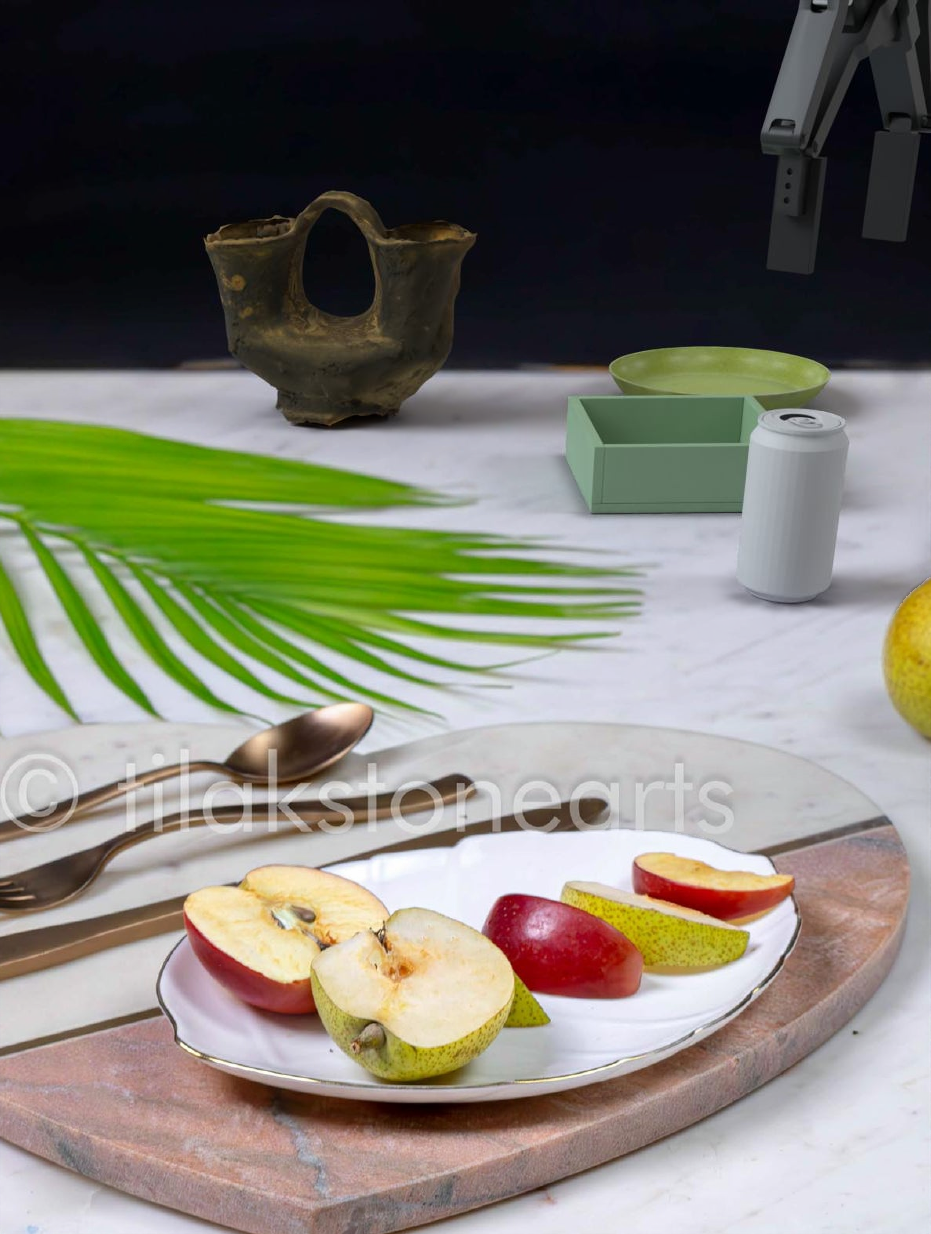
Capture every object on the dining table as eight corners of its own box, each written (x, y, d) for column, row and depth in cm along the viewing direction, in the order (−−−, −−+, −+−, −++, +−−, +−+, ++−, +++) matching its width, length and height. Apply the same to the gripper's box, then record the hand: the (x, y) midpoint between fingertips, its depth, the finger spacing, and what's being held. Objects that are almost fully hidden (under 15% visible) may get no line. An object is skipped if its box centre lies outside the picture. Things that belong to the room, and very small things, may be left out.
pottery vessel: (483, 409, 160) (489, 188, 151) (460, 440, 151) (466, 206, 142) (230, 394, 166) (222, 180, 157) (194, 422, 156) (182, 196, 147)
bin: (745, 455, 146) (751, 394, 144) (789, 511, 132) (797, 445, 130) (565, 457, 146) (568, 396, 144) (590, 513, 132) (594, 447, 130)
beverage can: (808, 571, 120) (829, 403, 115) (843, 603, 115) (867, 428, 109) (722, 576, 119) (738, 407, 114) (753, 608, 114) (772, 432, 108)
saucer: (861, 396, 164) (865, 362, 163) (769, 443, 150) (773, 407, 148) (669, 366, 175) (672, 335, 174) (566, 407, 161) (568, 373, 159)
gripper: (912, -129, 107) (865, 221, 117) (723, -133, 90) (687, 277, 100) (1030, -130, 103) (972, 233, 113) (856, -134, 86) (805, 294, 96)
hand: (838, 255), depth 107 cm, fingers open, 13 cm apart
